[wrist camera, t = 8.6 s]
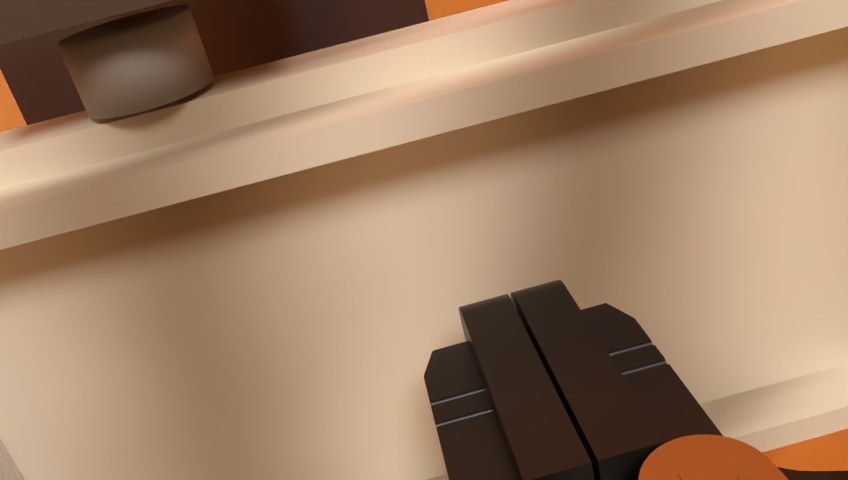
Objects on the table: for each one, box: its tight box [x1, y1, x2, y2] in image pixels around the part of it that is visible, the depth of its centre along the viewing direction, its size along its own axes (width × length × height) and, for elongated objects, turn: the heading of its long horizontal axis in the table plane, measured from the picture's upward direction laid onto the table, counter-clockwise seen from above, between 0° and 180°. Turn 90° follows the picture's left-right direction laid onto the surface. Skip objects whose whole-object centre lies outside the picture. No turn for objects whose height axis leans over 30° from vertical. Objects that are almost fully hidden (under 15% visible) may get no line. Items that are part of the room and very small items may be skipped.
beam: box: [0, 0, 848, 480], centre depth 12 cm, size 26×11×3 cm, turn 103°
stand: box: [0, 0, 429, 125], centre depth 16 cm, size 10×17×10 cm, turn 13°
